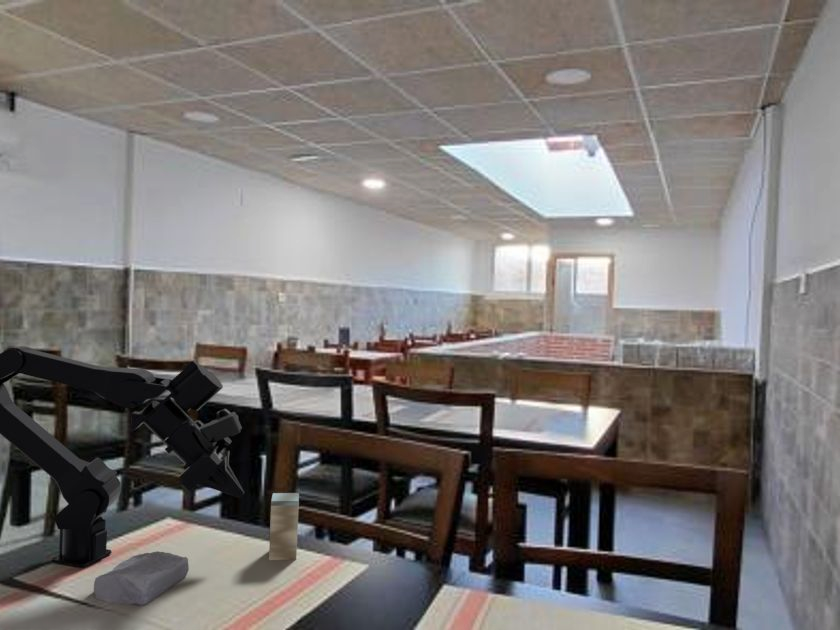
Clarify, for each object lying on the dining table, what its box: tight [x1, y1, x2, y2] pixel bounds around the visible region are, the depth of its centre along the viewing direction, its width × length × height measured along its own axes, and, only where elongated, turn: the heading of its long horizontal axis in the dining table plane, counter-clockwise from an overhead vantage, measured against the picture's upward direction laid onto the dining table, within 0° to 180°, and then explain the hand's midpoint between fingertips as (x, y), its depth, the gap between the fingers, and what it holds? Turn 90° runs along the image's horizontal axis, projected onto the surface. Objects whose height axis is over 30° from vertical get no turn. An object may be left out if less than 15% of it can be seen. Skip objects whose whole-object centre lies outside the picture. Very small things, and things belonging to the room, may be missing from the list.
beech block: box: [268, 492, 300, 561], centre depth 111 cm, size 4×4×10 cm
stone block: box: [93, 551, 189, 606], centre depth 97 cm, size 12×5×10 cm
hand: (242, 495), depth 110 cm, fingers closed
